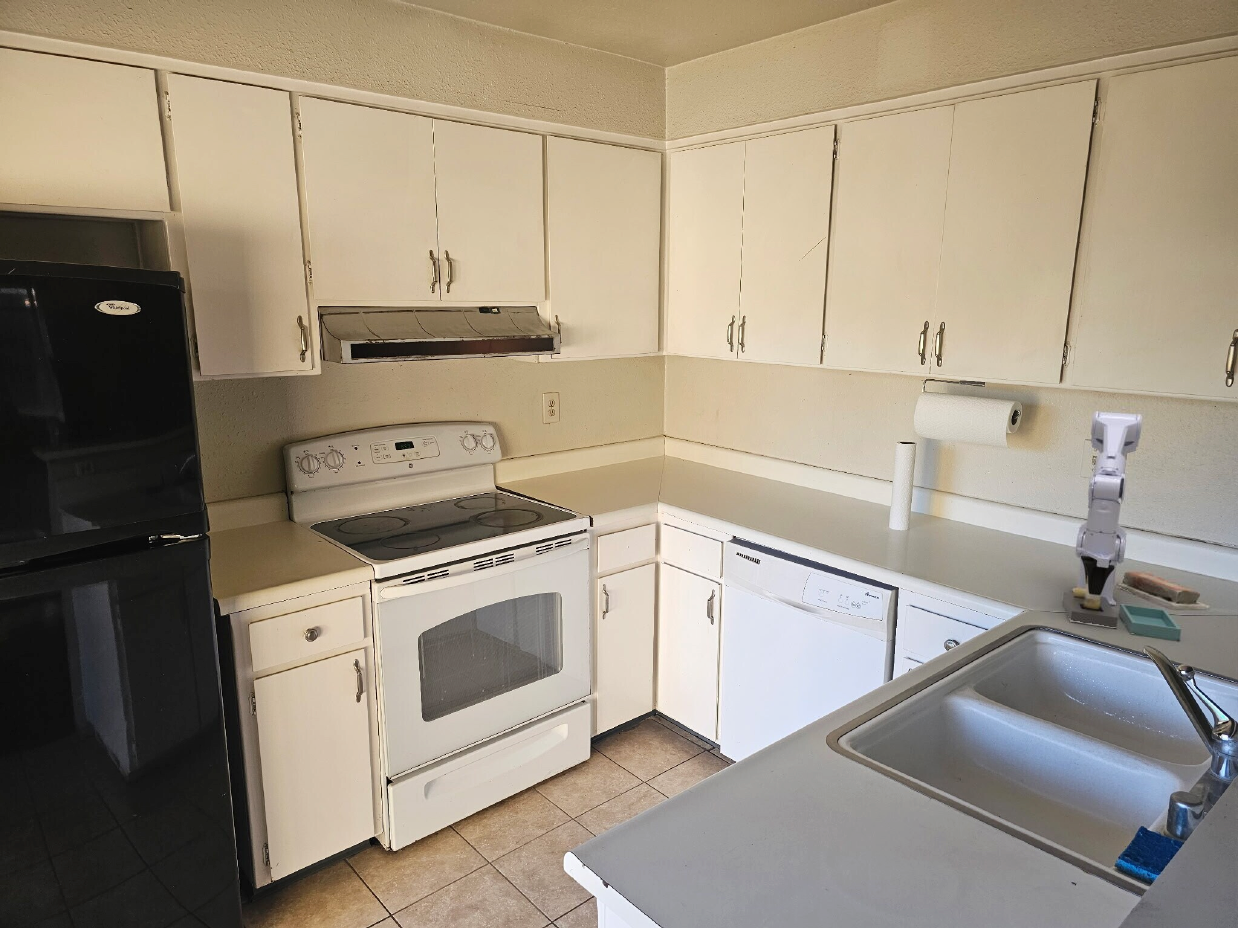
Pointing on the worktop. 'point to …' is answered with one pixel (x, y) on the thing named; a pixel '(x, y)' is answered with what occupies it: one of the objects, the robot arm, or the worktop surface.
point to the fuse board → (1088, 609)
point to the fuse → (1091, 599)
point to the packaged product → (1161, 591)
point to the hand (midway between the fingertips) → (1093, 592)
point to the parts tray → (1149, 622)
